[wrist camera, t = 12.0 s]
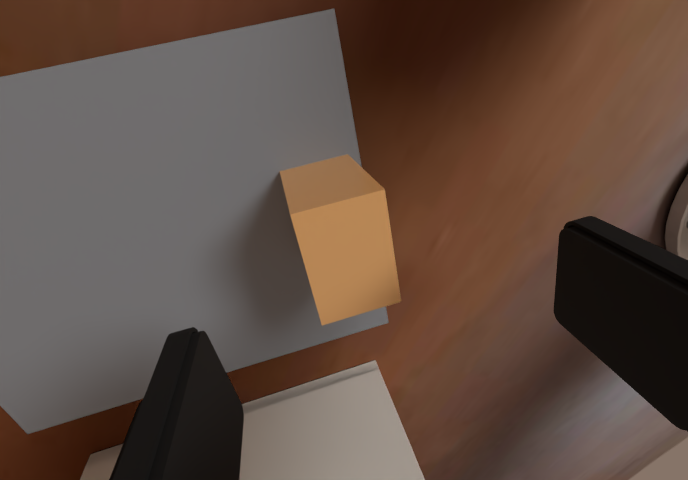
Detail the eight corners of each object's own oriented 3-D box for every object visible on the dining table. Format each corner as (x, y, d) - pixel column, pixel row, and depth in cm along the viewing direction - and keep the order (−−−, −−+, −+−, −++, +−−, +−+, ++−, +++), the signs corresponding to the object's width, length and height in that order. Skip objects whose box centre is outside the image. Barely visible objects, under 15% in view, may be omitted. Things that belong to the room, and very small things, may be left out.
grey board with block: (324, 15, 15) (374, -19, 9) (376, 300, 22) (426, 394, 16) (-186, 121, 13) (-596, 174, 7) (49, 398, 20) (-45, 552, 14)
